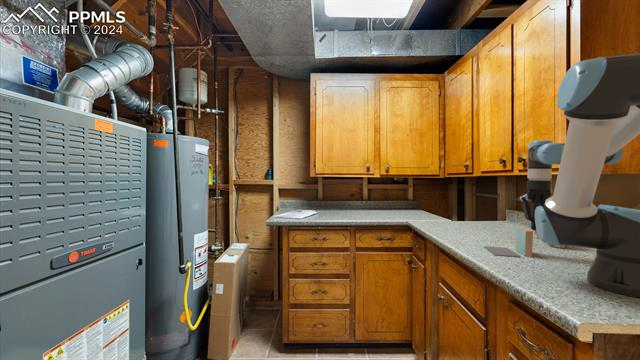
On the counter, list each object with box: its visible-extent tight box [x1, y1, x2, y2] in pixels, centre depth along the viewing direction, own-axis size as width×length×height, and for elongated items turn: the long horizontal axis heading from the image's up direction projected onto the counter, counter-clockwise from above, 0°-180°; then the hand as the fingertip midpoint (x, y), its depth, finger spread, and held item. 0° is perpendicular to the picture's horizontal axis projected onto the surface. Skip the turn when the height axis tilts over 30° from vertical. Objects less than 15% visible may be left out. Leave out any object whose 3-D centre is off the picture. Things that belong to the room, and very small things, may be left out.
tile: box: [515, 226, 534, 258], centre depth 110 cm, size 8×2×10 cm, turn 167°
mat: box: [483, 246, 522, 258], centre depth 112 cm, size 12×9×1 cm
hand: (536, 238), depth 109 cm, fingers closed
